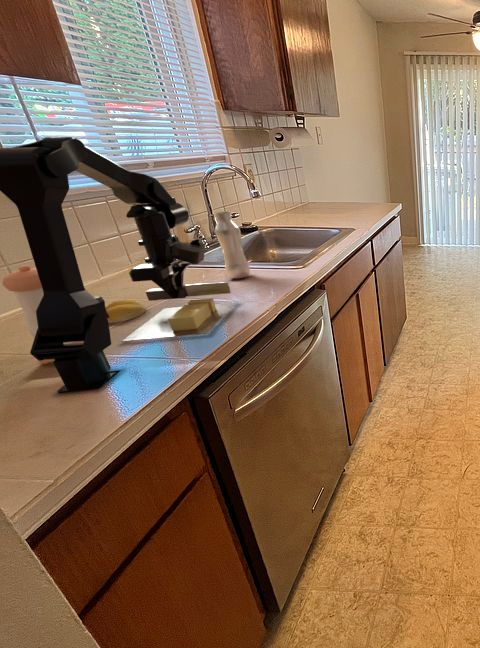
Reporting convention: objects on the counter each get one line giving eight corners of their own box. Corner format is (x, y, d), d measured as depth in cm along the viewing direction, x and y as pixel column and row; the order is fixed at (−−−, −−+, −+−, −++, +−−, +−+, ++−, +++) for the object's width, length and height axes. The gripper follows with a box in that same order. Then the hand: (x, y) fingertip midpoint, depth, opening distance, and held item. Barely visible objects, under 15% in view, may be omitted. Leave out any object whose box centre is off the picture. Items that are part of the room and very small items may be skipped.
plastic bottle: (235, 274, 128) (218, 210, 119) (256, 274, 127) (240, 210, 119) (223, 280, 122) (203, 214, 114) (244, 281, 122) (226, 214, 113)
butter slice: (213, 312, 98) (210, 301, 97) (191, 314, 98) (187, 302, 96) (216, 309, 100) (213, 298, 99) (194, 311, 99) (190, 300, 98)
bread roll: (104, 328, 93) (97, 313, 91) (104, 316, 99) (97, 301, 97) (148, 318, 98) (142, 303, 96) (146, 307, 104) (140, 293, 102)
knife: (232, 291, 102) (229, 280, 101) (229, 294, 100) (225, 283, 99) (153, 297, 99) (149, 286, 98) (148, 300, 97) (144, 289, 96)
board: (209, 336, 88) (208, 333, 88) (122, 344, 85) (121, 341, 85) (237, 305, 104) (236, 302, 104) (165, 311, 101) (164, 308, 101)
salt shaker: (42, 356, 81) (-7, 266, 73) (90, 343, 86) (49, 258, 78) (45, 369, 77) (-6, 275, 69) (95, 354, 82) (52, 265, 74)
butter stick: (196, 328, 90) (192, 316, 89) (172, 331, 89) (167, 319, 88) (211, 314, 97) (207, 303, 96) (188, 316, 96) (184, 305, 95)
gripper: (174, 241, 85) (197, 308, 92) (210, 223, 102) (227, 281, 109) (115, 244, 83) (142, 312, 90) (162, 226, 100) (182, 284, 107)
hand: (177, 296), depth 99 cm, fingers closed on knife, 2 cm apart
